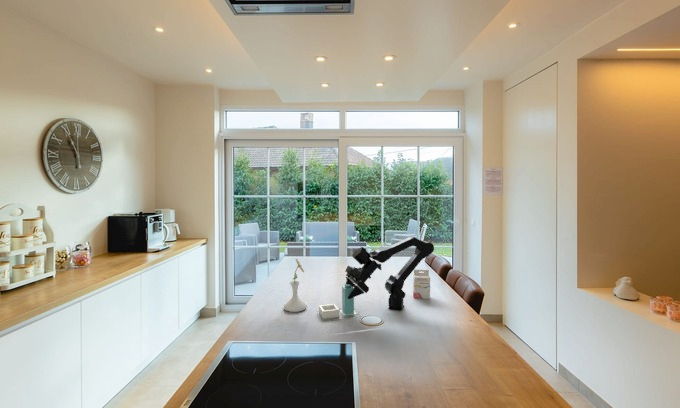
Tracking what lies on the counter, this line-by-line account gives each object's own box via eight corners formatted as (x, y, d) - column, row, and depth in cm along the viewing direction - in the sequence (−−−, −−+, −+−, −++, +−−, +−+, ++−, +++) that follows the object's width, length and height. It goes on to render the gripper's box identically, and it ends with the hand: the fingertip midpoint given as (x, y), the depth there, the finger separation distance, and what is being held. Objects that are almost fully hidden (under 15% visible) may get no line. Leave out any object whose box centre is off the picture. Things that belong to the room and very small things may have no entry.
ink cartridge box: (414, 298, 184) (414, 271, 183) (413, 295, 188) (413, 269, 188) (430, 298, 183) (430, 271, 182) (428, 295, 188) (429, 269, 187)
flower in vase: (302, 315, 162) (301, 263, 161) (280, 313, 164) (279, 262, 163) (310, 305, 175) (309, 257, 173) (289, 304, 177) (288, 256, 176)
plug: (351, 309, 166) (350, 283, 165) (353, 313, 162) (353, 286, 161) (342, 310, 165) (342, 284, 164) (345, 314, 160) (344, 286, 160)
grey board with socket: (352, 307, 171) (352, 300, 170) (361, 317, 158) (361, 309, 158) (315, 312, 165) (315, 304, 165) (321, 322, 153) (321, 313, 153)
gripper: (349, 256, 172) (328, 279, 169) (362, 264, 154) (338, 290, 151) (364, 270, 174) (344, 293, 172) (378, 279, 156) (355, 306, 154)
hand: (345, 295), depth 162 cm, fingers open, 9 cm apart
